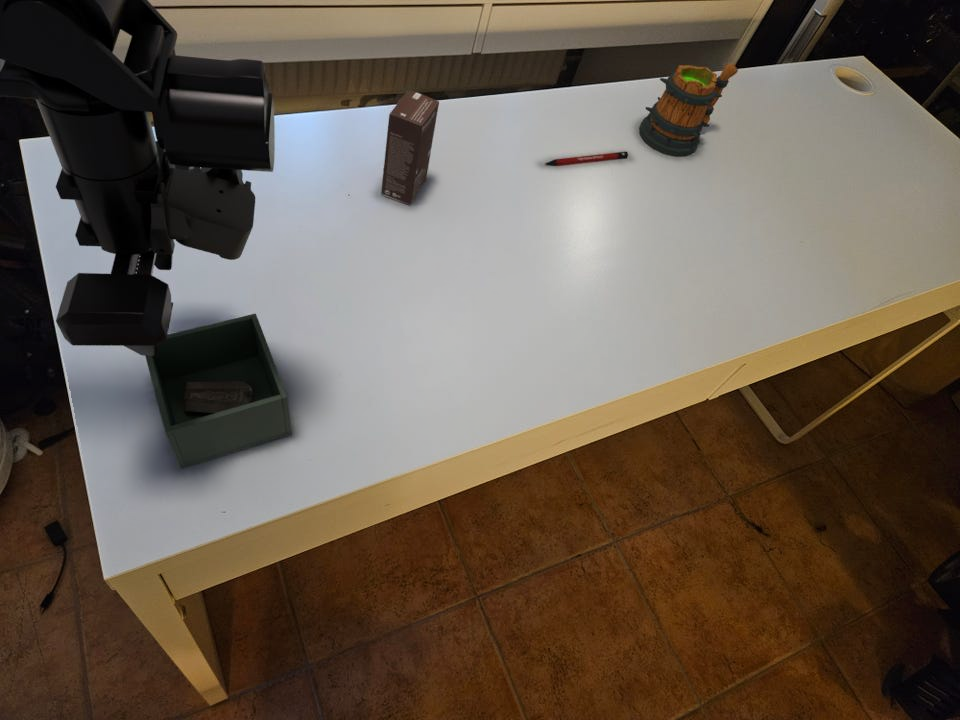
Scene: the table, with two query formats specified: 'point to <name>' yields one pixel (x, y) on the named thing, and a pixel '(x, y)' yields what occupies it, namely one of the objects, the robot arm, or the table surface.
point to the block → (216, 396)
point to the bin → (219, 358)
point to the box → (408, 146)
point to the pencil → (588, 159)
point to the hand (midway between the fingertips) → (157, 309)
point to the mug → (683, 109)
